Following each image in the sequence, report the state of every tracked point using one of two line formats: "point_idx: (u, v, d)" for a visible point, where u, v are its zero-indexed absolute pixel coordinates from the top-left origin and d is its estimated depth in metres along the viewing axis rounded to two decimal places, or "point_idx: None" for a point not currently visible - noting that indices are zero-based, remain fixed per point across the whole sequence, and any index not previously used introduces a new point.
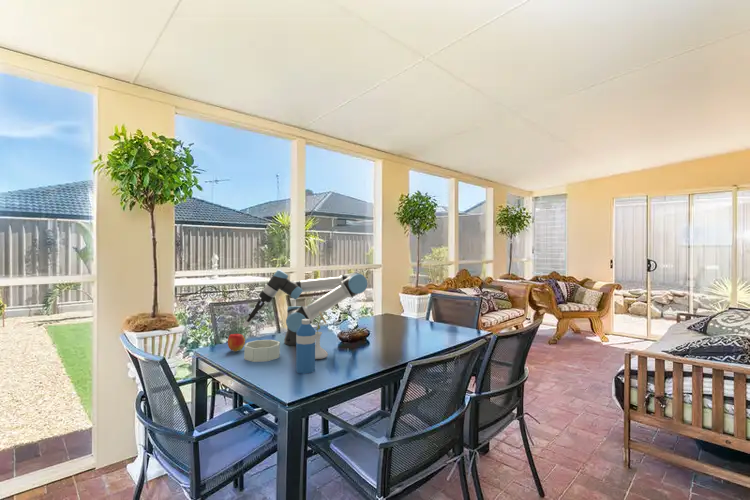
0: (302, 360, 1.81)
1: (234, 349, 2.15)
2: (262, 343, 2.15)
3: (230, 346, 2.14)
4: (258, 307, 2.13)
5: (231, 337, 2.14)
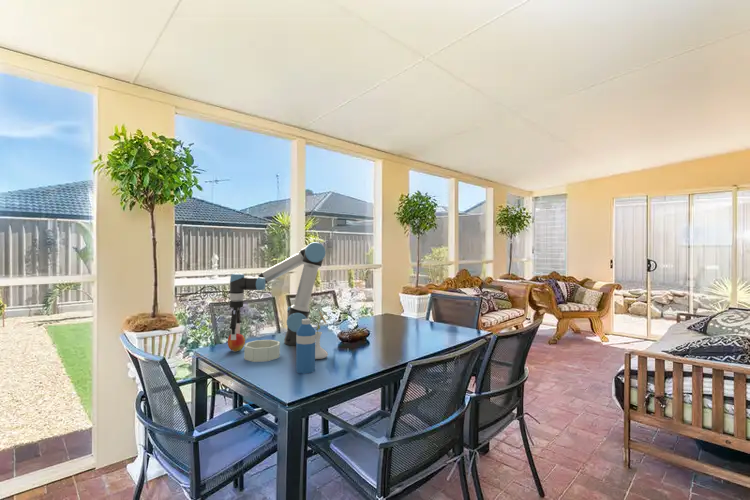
0: (303, 360, 1.81)
1: (234, 349, 2.15)
2: (262, 343, 2.15)
3: (230, 346, 2.14)
4: (234, 316, 2.10)
5: None
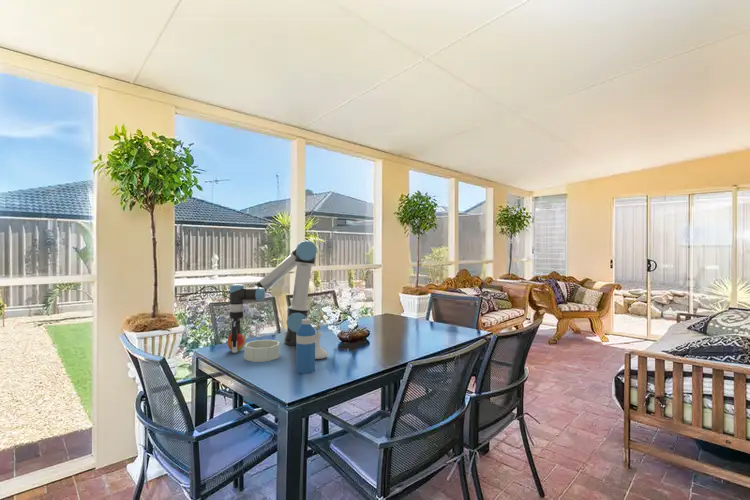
0: (302, 360, 1.81)
1: None
2: (262, 343, 2.15)
3: (230, 346, 2.14)
4: (234, 329, 2.11)
5: (231, 337, 2.14)
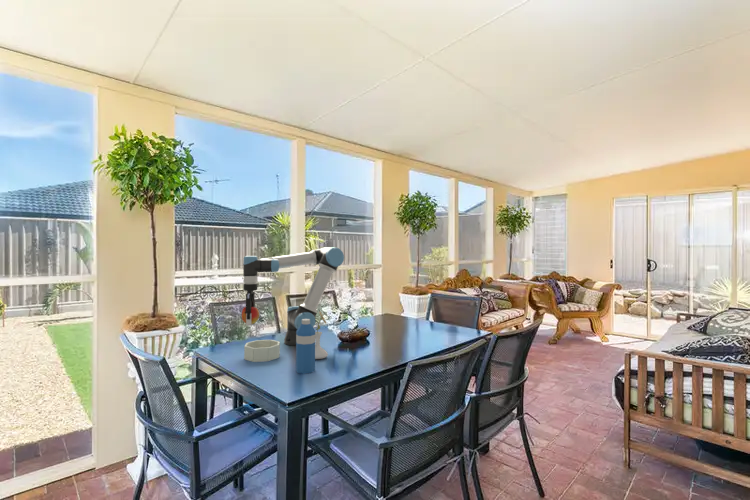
0: (302, 360, 1.81)
1: None
2: (262, 343, 2.15)
3: (244, 319, 2.08)
4: (248, 301, 2.05)
5: (245, 309, 2.08)
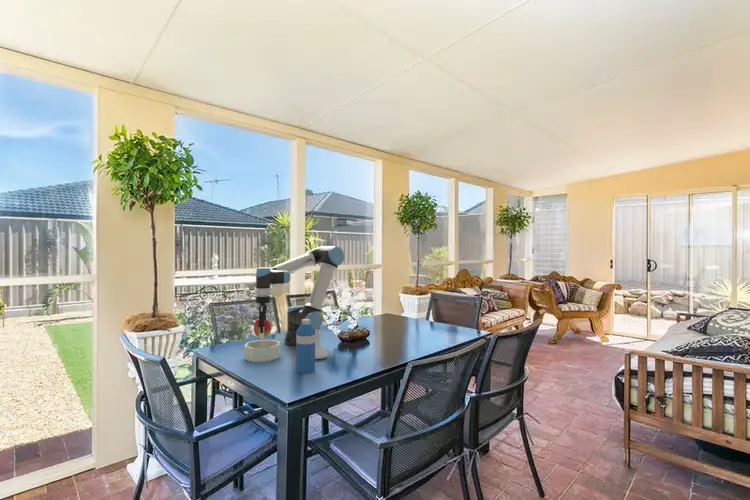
0: (303, 360, 1.81)
1: None
2: (262, 343, 2.15)
3: (256, 332, 2.03)
4: (262, 314, 2.00)
5: (257, 323, 2.03)
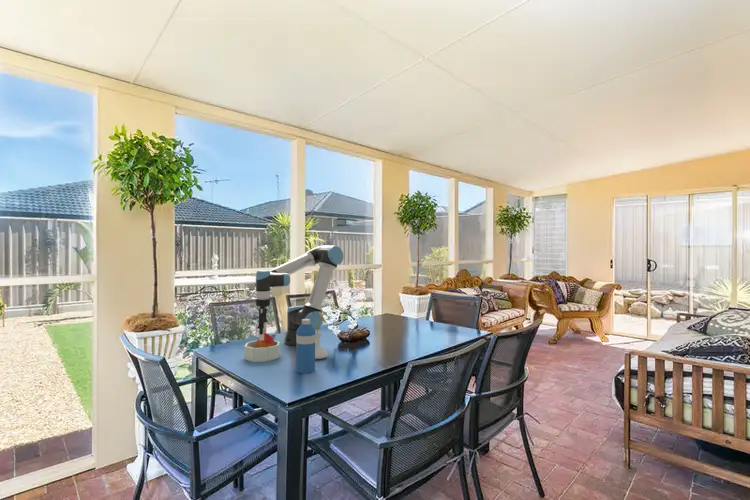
0: (303, 360, 1.81)
1: (262, 347, 2.06)
2: None
3: (259, 343, 2.06)
4: (261, 315, 2.00)
5: None
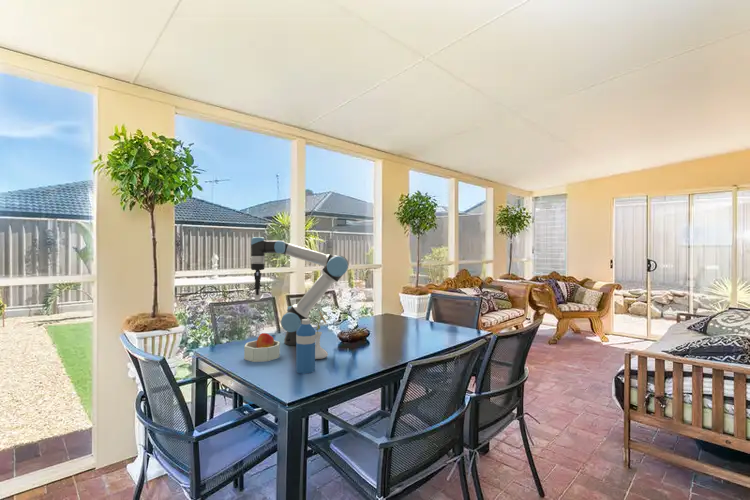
0: (303, 360, 1.81)
1: (262, 347, 2.06)
2: None
3: (259, 343, 2.06)
4: (257, 277, 2.17)
5: (262, 334, 2.09)
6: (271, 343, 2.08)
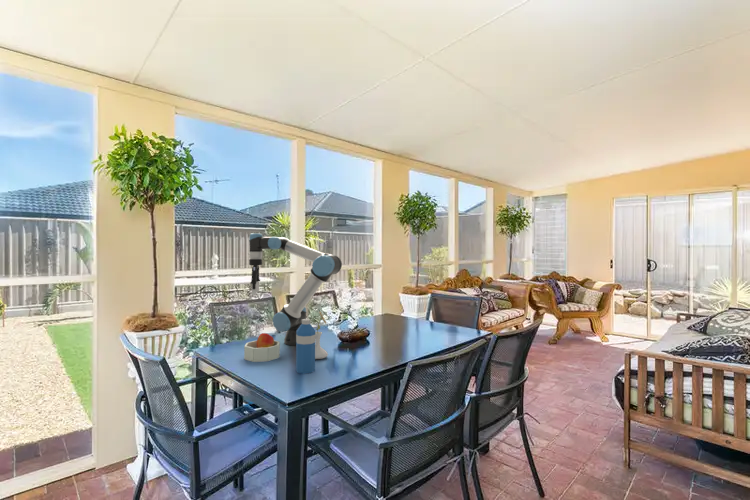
0: (303, 360, 1.81)
1: (262, 347, 2.06)
2: None
3: (259, 343, 2.06)
4: (254, 272, 2.24)
5: (262, 334, 2.09)
6: (271, 343, 2.08)
